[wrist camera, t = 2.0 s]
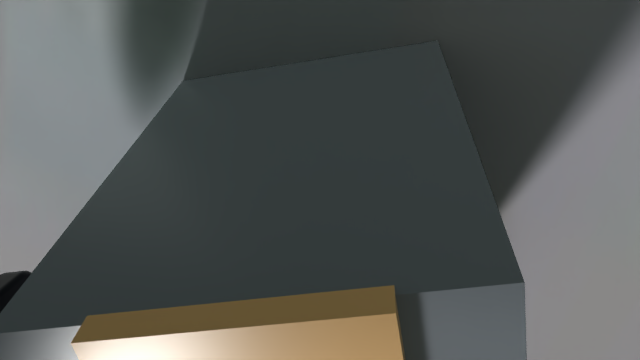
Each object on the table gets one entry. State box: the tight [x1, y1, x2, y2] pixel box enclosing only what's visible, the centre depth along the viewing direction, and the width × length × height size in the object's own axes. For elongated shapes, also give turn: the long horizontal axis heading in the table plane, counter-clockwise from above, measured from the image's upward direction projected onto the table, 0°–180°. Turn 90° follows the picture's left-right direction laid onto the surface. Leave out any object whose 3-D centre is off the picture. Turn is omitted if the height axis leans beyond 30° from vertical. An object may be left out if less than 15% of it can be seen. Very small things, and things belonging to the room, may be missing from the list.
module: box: [0, 41, 527, 360], centre depth 8 cm, size 4×4×6 cm
